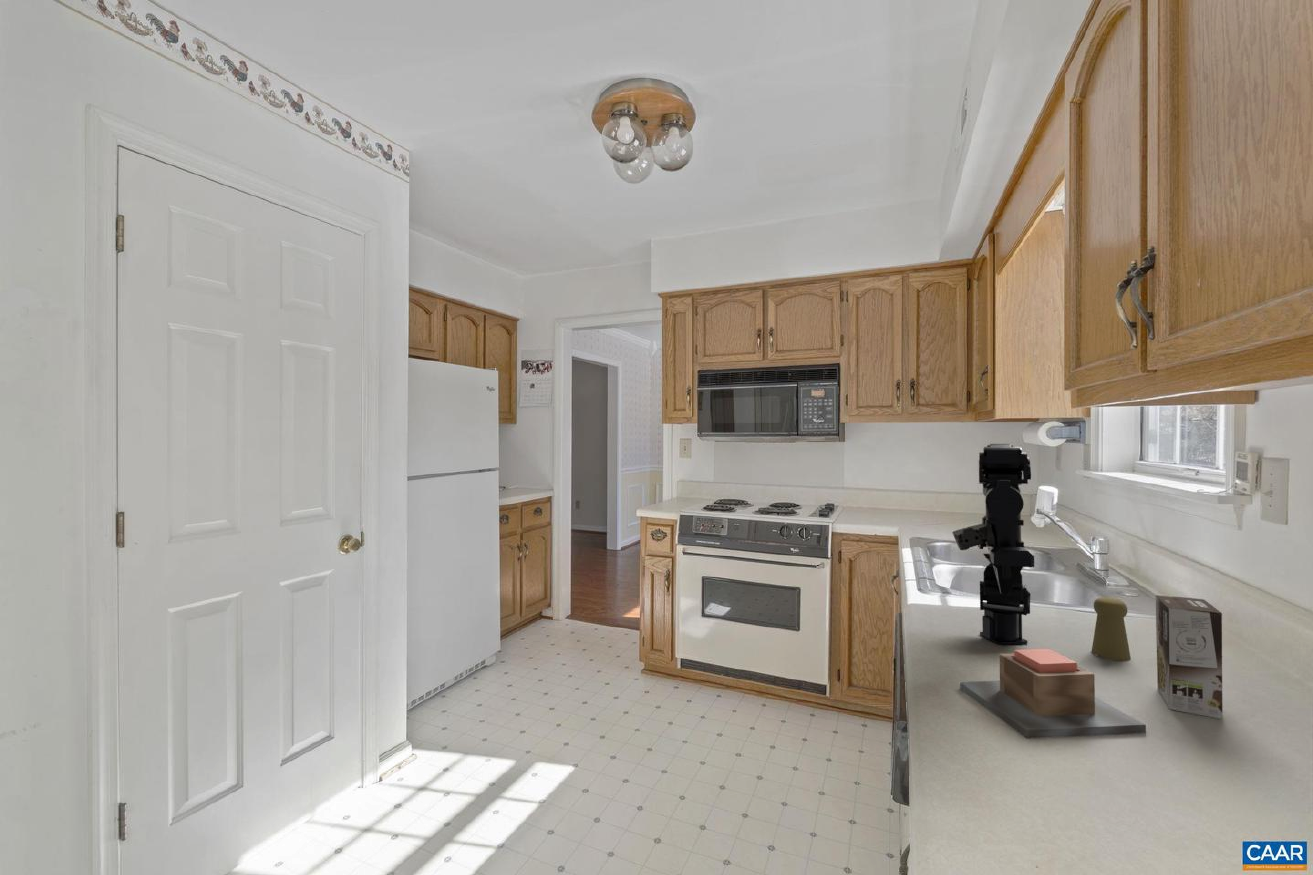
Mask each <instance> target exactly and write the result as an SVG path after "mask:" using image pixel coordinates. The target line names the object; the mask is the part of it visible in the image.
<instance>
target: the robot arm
mask: <svg viewBox="0 0 1313 875" xmlns="http://www.w3.org/2000/svg"><path fill="white" fill-rule="evenodd" d="M978 453H979V456H978V458H979V459H978V482H979V483H978V484H980V485H981V484H982V493H983V495H984V497H985V500H984V501H985V515H983V517H981V520H982V522H981V523H978V524H974V525H971V526H970V525H969V526H967V527H963V528H961V529H959V528H958V529H956V530H954V531H952V536H953V538H954V540H955V543H956V546H957V547H958V548H959V550H960V551H965V550H969V549H970V548H974V547H978V548H979V550H984V548H986V549H987V553H983V554H982V556H983V557H985V559H986V560H987V561H988V563H989V564H988V565H986V566H985V568H984V570H983V581H982V580H979V608H980V609H979V610H980V611H983V615H982V621H981V622H982V623H981V625H982V631H979V635H981V636H982V637H984V638H986V639H988V640H990V641H991V642H994V643H995V644H997V645H1021V644H1028V642H1029V641H1028V640H1027V639H1025V638H1023V616H1028V615H1030V614H1031V592H1030V591H1029V589H1027V585H1024V584H1023V574H1022V573H1021V572H1022V570H1023V569H1024V568H1035V555H1033V554H1032V553H1031V552H1030V551H1029V550H1028V549H1026V548H1025V542H1024V541H1023V540H1022V526H1024V524H1025V523H1024V521H1025V520H1024V519H1022V511H1023V509H1024V500H1023V496H1022V494H1021V488H1020V487H1019V486H1022V485H1028V484H1029V482H1028V480H1032V472H1031V469H1032V468H1031V459H1030V457H1029V456H1028V453H1026V452H1023V449H1022V447H1021V446H1014V444H1011V443H990V444H987V445H986V446H984V447H983V452H978Z"/></svg>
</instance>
